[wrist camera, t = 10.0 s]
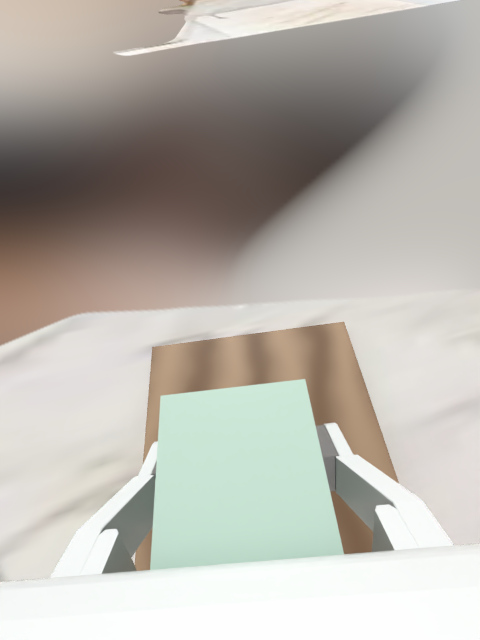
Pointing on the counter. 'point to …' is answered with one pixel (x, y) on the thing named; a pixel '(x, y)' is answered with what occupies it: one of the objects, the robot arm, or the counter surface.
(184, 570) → the robot arm
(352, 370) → the walnut board
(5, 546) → the counter surface
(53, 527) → the counter surface
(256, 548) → the green block
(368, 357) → the counter surface
